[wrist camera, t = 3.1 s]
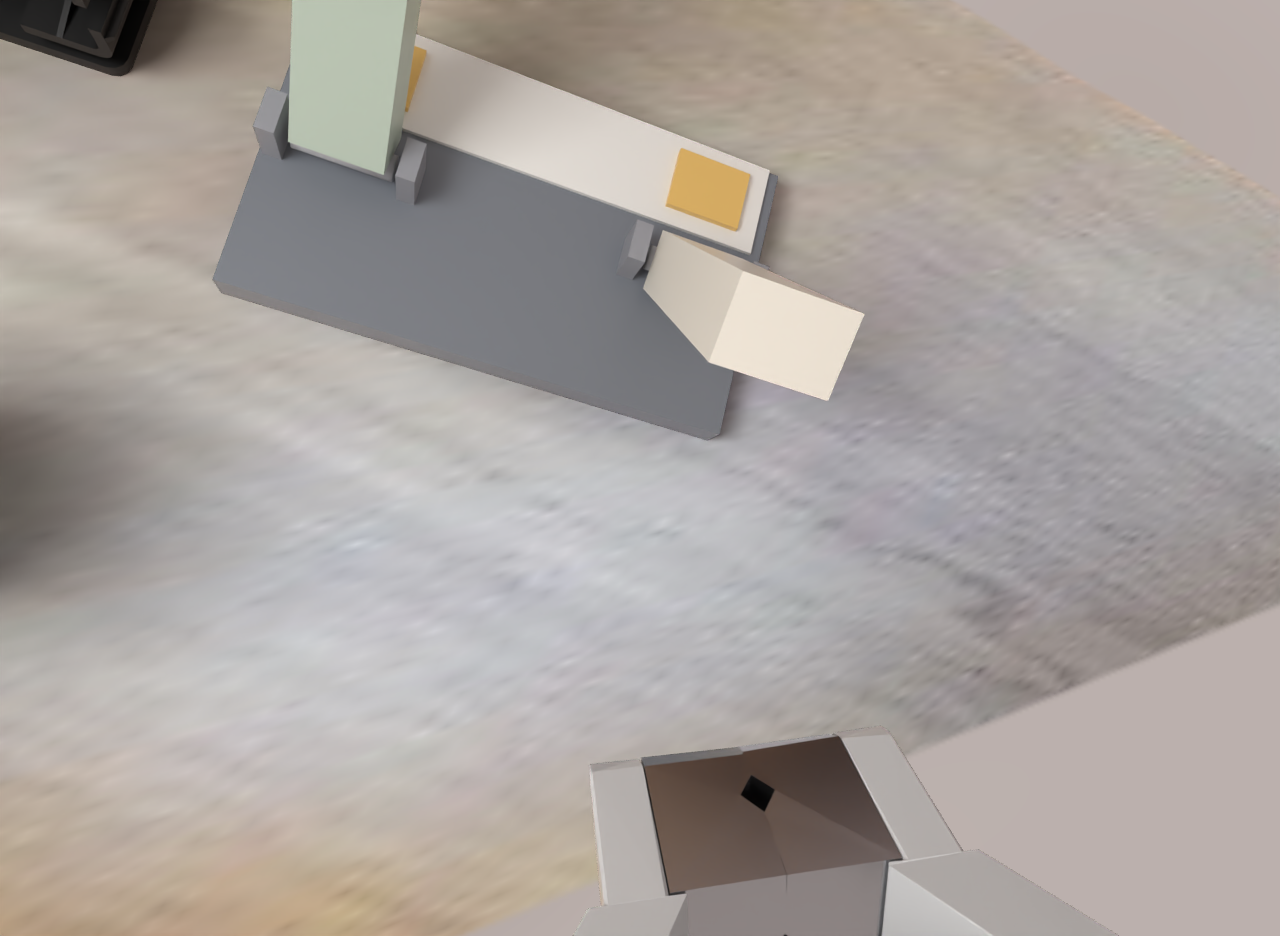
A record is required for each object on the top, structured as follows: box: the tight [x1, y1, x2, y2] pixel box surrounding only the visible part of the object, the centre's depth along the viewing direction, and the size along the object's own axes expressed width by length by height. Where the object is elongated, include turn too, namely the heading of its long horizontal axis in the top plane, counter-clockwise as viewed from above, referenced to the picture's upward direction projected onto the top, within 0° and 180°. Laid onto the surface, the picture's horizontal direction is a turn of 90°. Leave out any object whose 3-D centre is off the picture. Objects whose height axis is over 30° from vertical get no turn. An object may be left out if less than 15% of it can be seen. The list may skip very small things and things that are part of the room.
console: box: [213, 34, 778, 440], centre depth 34 cm, size 12×20×4 cm, turn 77°
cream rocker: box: [643, 230, 864, 401], centre depth 28 cm, size 2×4×15 cm
